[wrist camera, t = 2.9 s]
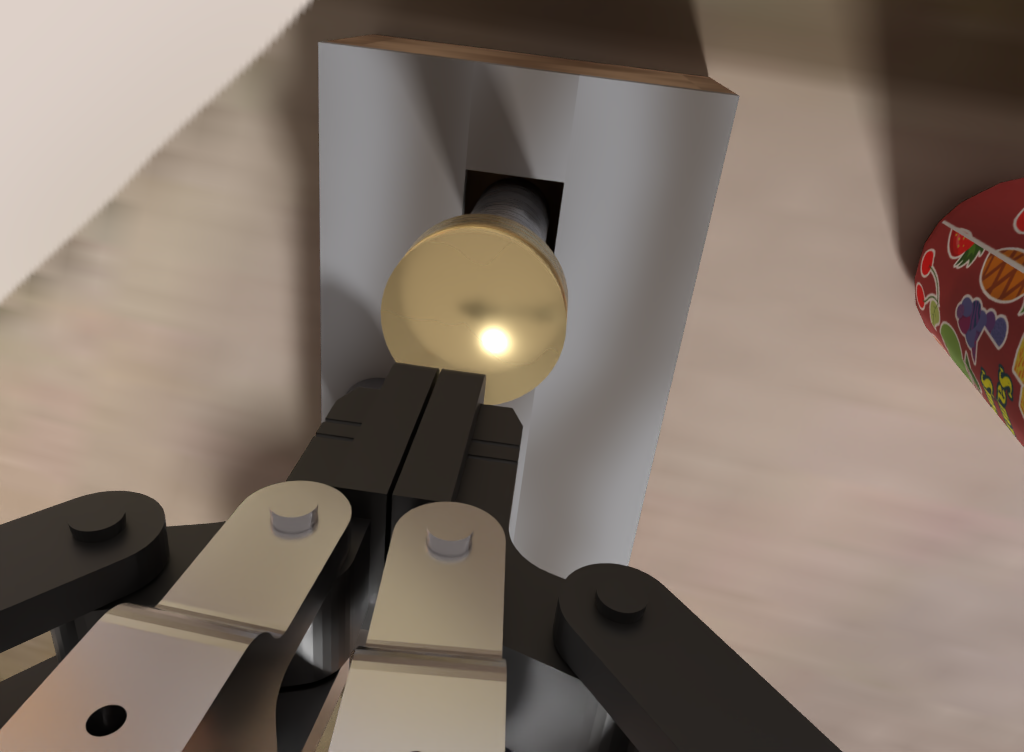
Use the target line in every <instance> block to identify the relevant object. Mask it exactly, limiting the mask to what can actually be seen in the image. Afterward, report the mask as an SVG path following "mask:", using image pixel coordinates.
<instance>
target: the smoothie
mask: <svg viewBox="0 0 1024 752" xmlns="http://www.w3.org/2000/svg"><path fill="white" fill-rule="evenodd" d="M915 297H916V306H917V308H918V311H919V313H920V315H921V317H922V319H923V322H924V324H925V326H926V328H927V329H928V330H929V331H930V332H931V334H932V335H933V336H934V337H935V338H936V340H937V341H938V342H939V343H940V345H941V346H942V347H943V348H944V350H945V351H946V352H947V353H948V354H949V356H950V357H951V358H952V359H953V361H954V362H955V363H956V364H957V366H958V367H959V368H960V369H961V370H962V372H963V373H964V374H965V375H966V377H967V378H968V379H969V380H970V381H971V383H972V384H973V385H974V386H975V388H976V389H977V390H978V391H979V393H980V394H981V395H982V396H983V397H984V399H985V400H986V401H987V402H988V404H989V405H990V406H991V407H992V408H993V410H994V411H995V412H996V413H997V415H998V416H999V417H1000V418H1001V420H1002V421H1003V422H1004V423H1005V424H1006V426H1007V427H1008V428H1009V429H1010V431H1011V432H1012V433H1013V434H1014V435H1015V437H1016V438H1017V439H1018V440H1019V442H1020V443H1021V444H1022V445H1023V447H1024V178H1020V179H1015V180H1011V181H1006V182H1002V183H999V184H997V185H995V186H993V187H991V188H989V189H987V190H985V191H983V192H981V193H979V194H977V195H975V196H973V197H971V198H969V199H967V200H965V201H963V202H962V203H960V204H959V205H958V206H956V207H955V208H954V209H953V210H952V211H951V212H950V213H948V214H947V215H946V216H945V217H944V218H943V219H942V220H940V221H939V223H938V224H937V226H936V227H935V229H934V230H933V232H932V233H931V235H930V236H929V238H928V239H927V241H926V242H925V244H924V247H923V251H922V254H921V257H920V260H919V263H918V269H917V272H916V275H915Z"/></svg>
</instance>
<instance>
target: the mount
mask: <svg viewBox="0 0 1024 752" xmlns="http://www.w3.org/2000/svg"><path fill="white" fill-rule="evenodd" d="M318 75H319V190H320V304H321V419H322V423H323V422H325V418H326V416H327V415H328V413H329V412H330V410H331V408H332V407H333V405H334V404H335V402H336V400H338V399H339V398H341V397H343V396H344V395H346V393H347V392H348V391H349V389H350V388H351V387H353V386H354V385H355V384H357V383H358V382H360V381H363V380H366V379H370V378H386V377H387V375H388V374H389V372H390V370H391V368H392V366H393V364H394V363H395V362H396V361H395V360H394V358H393V357H392V355H391V353H390V351H389V349H388V347H387V344H386V341H385V338H384V335H383V330H382V325H381V303H382V297H383V293H384V289H385V287H386V284H387V282H388V279H389V277H390V276H391V274H392V272H393V271H394V269H395V268H396V266H397V265H398V264H399V262H400V261H401V259H402V258H403V257H404V255H405V254H406V253H407V251H408V250H409V249H410V247H411V246H412V245H413V244H414V242H415V241H416V240H417V239H418V238H419V237H420V236H421V235H422V234H423V233H424V232H425V231H427V230H428V229H430V228H431V227H433V226H434V225H436V224H438V223H440V222H442V221H444V220H447V219H449V218H452V217H455V216H460V215H465V214H471V212H472V210H473V208H474V207H475V205H476V203H477V202H478V200H479V198H480V196H481V195H482V193H483V192H484V190H485V189H486V188H487V187H488V186H489V185H491V184H492V183H493V182H495V181H497V180H500V179H503V178H508V177H517V178H522V179H525V180H528V181H530V182H531V183H533V184H534V185H536V186H537V187H538V188H539V189H540V190H541V191H542V192H543V194H544V195H545V197H546V199H547V201H548V204H549V209H550V221H549V226H548V232H547V237H546V242H545V243H546V244H547V245H548V246H549V248H550V249H551V250H552V252H553V253H554V255H555V256H556V258H557V259H558V261H559V263H560V265H561V267H562V270H563V273H564V275H565V278H566V283H567V288H568V312H567V325H566V337H565V341H564V346H563V349H562V352H561V354H560V357H559V359H558V361H557V363H556V365H555V366H554V368H553V369H552V371H551V372H550V373H549V375H548V376H547V377H546V378H545V379H544V380H543V381H542V382H541V383H540V384H539V385H538V386H537V387H535V388H534V389H533V390H531V391H530V392H528V393H526V394H525V395H523V396H521V397H519V398H516V399H514V400H512V401H509V402H505V403H501V404H496V405H494V406H501V407H509V408H513V409H514V411H515V413H516V415H517V416H518V418H519V420H520V422H521V423H522V425H523V431H522V439H521V446H520V453H519V461H518V468H517V475H516V483H515V490H514V497H513V505H512V511H511V518H510V525H509V534H510V538H511V540H512V542H513V544H514V546H515V547H516V549H517V550H518V551H519V553H520V554H521V555H522V556H523V557H524V558H526V559H527V560H528V561H529V562H531V563H532V564H534V565H535V566H537V567H539V568H540V569H542V570H545V571H547V572H549V573H551V574H554V575H556V576H559V577H561V578H564V579H566V578H567V577H568V575H570V574H571V573H572V572H574V571H575V570H577V569H579V568H581V567H584V566H587V565H591V564H598V563H613V564H620V565H625V566H628V564H629V560H630V556H631V552H632V547H633V543H634V539H635V535H636V530H637V526H638V522H639V518H640V514H641V509H642V505H643V501H644V497H645V493H646V488H647V484H648V480H649V476H650V471H651V467H652V463H653V459H654V455H655V450H656V446H657V442H658V438H659V433H660V429H661V425H662V421H663V417H664V412H665V408H666V404H667V400H668V395H669V391H670V387H671V383H672V379H673V374H674V370H675V366H676V362H677V358H678V353H679V349H680V345H681V341H682V336H683V332H684V328H685V324H686V320H687V315H688V311H689V307H690V303H691V298H692V294H693V290H694V286H695V282H696V277H697V273H698V269H699V265H700V260H701V256H702V252H703V248H704V244H705V239H706V235H707V231H708V227H709V223H710V218H711V214H712V210H713V206H714V201H715V197H716V193H717V189H718V185H719V180H720V176H721V172H722V168H723V163H724V159H725V155H726V151H727V147H728V142H729V138H730V134H731V130H732V126H733V121H734V117H735V113H736V109H737V104H738V100H739V95H737V94H735V93H734V92H732V91H731V90H729V89H727V88H726V87H724V86H723V85H721V84H719V83H718V82H716V81H715V80H713V79H711V78H710V77H705V76H697V75H689V74H681V73H673V72H666V71H658V70H650V69H642V68H634V67H626V66H619V65H611V64H603V63H595V62H587V61H579V60H571V59H564V58H556V57H548V56H540V55H532V54H524V53H516V52H509V51H501V50H493V49H485V48H477V47H469V46H461V45H454V44H446V43H438V42H430V41H422V40H414V39H406V38H399V37H391V36H383V35H375V34H372V35H365V36H358V37H351V38H344V39H337V40H330V41H323V42H318ZM368 633H369V630H364V629H360V632H359V634H358V637H357V640H356V643H355V646H354V648H353V651H355V650H356V648H357V647H358V646H365V645H366V641H367V637H368Z"/></svg>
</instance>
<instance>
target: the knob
mask: <svg viewBox="0 0 1024 752" xmlns="http://www.w3.org/2000/svg"><path fill="white" fill-rule="evenodd" d="M549 221H550V209H549V204H548V201H547V199H546V197H545V195H544V194H543V192H542V191H541V190H540V189H539V188H538V187H537V186H536V185H534V184H533V183H531V182H530V181H528V180H525V179H522V178H517V177H508V178H503V179H500V180H497V181H495V182H493V183H492V184H491V185H489V186H488V187H487V188H486V189H485V190H484V192H483V193H482V195H481V196H480V198H479V200H478V202H477V203H476V205H475V207H474V208H473V210H472V212H471V214H465V215H460V216H455V217H452V218H449V219H447V220H444V221H442V222H440V223H438V224H436V225H434V226H433V227H431V228H430V229H428V230H427V231H425V232H424V233H423V234H422V235H421V236H420V237H419V238H418V239H417V240H416V241H415V242H414V244H413V245H412V246H411V247H410V249H409V250H408V251H407V253H406V254H405V255H404V257H403V258H402V259H401V261H400V262H399V264H398V265H397V266H396V268H395V269H394V271H393V272H392V274H391V276H390V277H389V279H388V282H387V284H386V287H385V289H384V293H383V297H382V303H381V325H382V330H383V335H384V338H385V341H386V344H387V347H388V349H389V351H390V353H391V355H392V357H393V358H394V360H395V361H396V362H397V363H405V364H412V365H419V366H426V367H433V368H439V369H440V372H441V370H442V369H449V370H456V371H463V372H471V373H478V374H485V375H486V385H485V395H484V404H487V405H496V404H501V403H505V402H509V401H512V400H514V399H516V398H519V397H521V396H523V395H525V394H526V393H528V392H530V391H531V390H533V389H534V388H535V387H537V386H538V385H539V384H540V383H541V382H542V381H543V380H544V379H545V378H546V377H547V376H548V375H549V373H550V372H551V371H552V369H553V368H554V366H555V365H556V363H557V361H558V359H559V357H560V354H561V352H562V349H563V346H564V341H565V337H566V325H567V312H568V288H567V283H566V278H565V275H564V273H563V270H562V267H561V265H560V263H559V261H558V259H557V258H556V256H555V255H554V253H553V252H552V250H551V249H550V248H549V246H548V245H547V244H546V243H545V242H546V237H547V232H548V226H549Z"/></svg>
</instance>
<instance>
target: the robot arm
mask: <svg viewBox="0 0 1024 752" xmlns="http://www.w3.org/2000/svg"><path fill="white" fill-rule="evenodd" d="M485 385H486V375H485V374H478V373H471V372H463V371H456V370H449V369H442V370H441V372H440V369H439V368H433V367H426V366H419V365H412V364H405V363H397V362H395V363H394V364H393V366H392V368H391V370H390V372H389V374H388V375H387V377H386V379H385V381H384V383H383V385H382V387H381V389H380V390H379V389H371V388H364V387H358V388H356V389H354V390H353V391H351V392H349V393H348V394H346V395H344V396H343V397H341V398H339V399H338V400H336V402H335V404H334V405H333V407H332V408H331V410H330V412H329V413H328V415H327V416H326V418H325V422H323V423H322V424H321V426H320V428H319V429H318V431H317V432H316V437H315V436H314V437H313V439H312V440H311V442H310V444H309V445H308V447H307V448H306V450H305V452H304V453H303V455H302V456H301V458H300V460H299V461H298V463H297V464H296V466H295V468H294V469H293V471H292V472H291V474H290V476H289V477H288V479H287V480H286V482H281V483H277V484H273V485H270V486H267V487H264V488H262V489H260V490H258V491H256V492H254V493H253V494H251V495H250V496H249V497H247V498H246V499H245V500H244V501H243V502H242V503H241V504H240V505H239V507H238V508H237V509H236V510H235V512H234V513H233V514H232V515H231V516H230V518H229V519H228V520H227V521H224V522H218V523H210V524H196V525H183V526H169V527H166V521H165V514H164V511H163V508H162V507H161V506H160V504H159V503H158V502H156V501H155V500H154V499H152V498H150V497H148V496H146V495H143V494H140V493H135V492H129V491H107V492H99V493H94V494H89V495H85V496H82V497H78V498H75V499H72V500H70V501H67V502H64V503H61V504H58V505H55V506H53V507H50V508H47V509H44V510H41V511H38V512H36V513H33V514H30V515H27V516H24V517H21V518H19V519H16V520H13V521H10V522H7V523H4V524H2V525H0V653H1V652H4V651H6V650H8V649H10V648H12V647H15V646H17V645H19V644H21V643H23V642H26V641H28V640H30V639H32V638H34V637H37V636H39V635H41V634H43V633H45V632H48V631H51V635H52V639H53V643H54V647H55V651H56V656H54V657H52V658H49V659H47V660H45V661H43V662H41V663H39V664H37V665H35V666H33V667H31V668H29V669H26V670H24V671H22V672H20V673H18V674H16V675H14V676H12V677H10V678H8V679H6V680H3V681H1V682H0V752H315V751H316V748H317V746H318V744H319V742H320V739H321V737H322V735H323V733H324V730H325V728H326V726H327V724H328V722H329V719H330V717H331V715H332V713H333V710H334V708H335V706H336V704H337V701H338V699H339V697H340V695H341V693H342V690H343V688H344V686H345V689H344V693H343V697H342V700H341V704H340V708H339V712H338V716H337V720H336V724H335V728H334V731H333V735H332V739H331V743H330V747H329V751H328V752H505V747H506V748H508V749H510V750H512V751H514V752H842V751H841V750H840V749H839V748H838V747H837V746H836V745H835V744H833V743H832V742H831V741H830V740H829V739H828V738H827V737H826V736H825V735H824V734H823V733H822V732H821V731H819V730H818V729H817V728H816V727H815V726H814V725H813V724H812V723H811V722H810V721H809V720H808V719H807V718H806V717H804V716H803V715H802V714H801V713H800V712H799V711H798V710H797V709H796V708H795V707H794V706H793V705H792V704H790V703H789V702H788V701H787V700H786V699H785V698H784V697H783V696H782V695H781V694H780V693H779V692H778V691H777V690H775V689H774V688H773V687H772V686H771V685H770V684H769V683H768V682H767V681H766V680H765V679H764V678H763V677H761V676H760V675H759V674H758V673H757V672H756V671H755V670H754V669H753V668H752V667H751V666H750V665H749V664H748V663H746V662H745V661H744V660H743V659H742V658H741V657H740V656H739V655H738V654H737V653H736V652H735V651H734V650H732V649H731V648H730V647H729V646H728V645H727V644H726V643H725V642H724V641H723V640H722V639H721V638H720V637H719V636H717V635H716V634H715V633H714V632H713V631H712V630H711V629H710V628H709V627H708V626H707V625H706V624H705V623H703V622H702V621H701V620H700V619H699V618H698V617H697V616H696V615H695V614H694V613H693V612H692V611H691V610H690V609H688V608H687V607H686V606H685V605H684V604H683V603H682V602H681V601H680V600H679V599H678V598H677V597H676V596H675V595H673V594H672V593H671V592H670V591H669V590H668V589H667V588H666V587H665V586H664V585H662V584H661V583H660V582H659V581H658V580H656V579H655V578H653V577H652V576H650V575H648V574H646V573H644V572H642V571H640V570H638V569H635V568H632V567H629V566H625V565H620V564H613V563H598V564H591V565H587V566H584V567H581V568H579V569H577V570H575V571H574V572H572V573H571V574H570V575H568V577H567V578H566V579H564V578H561V577H559V576H556V575H554V574H551V573H549V572H547V571H545V570H542V569H540V568H539V567H537V566H535V565H534V564H532V563H531V562H529V561H528V560H527V559H526V558H524V557H523V556H522V555H521V554H520V553H519V551H518V550H517V549H516V547H515V546H514V544H513V542H512V540H511V538H510V534H509V525H510V518H511V511H512V505H513V497H514V490H515V483H516V475H517V468H518V461H519V453H520V446H521V439H522V431H523V425H522V423H521V422H520V420H519V418H518V416H517V415H516V413H515V411H514V409H513V408H509V407H501V406H494V405H487V404H484V395H485ZM360 629H364V630H369V633H368V637H367V641H366V645H365V646H358V647H357V648H356V650H355V653H354V656H353V659H352V662H351V666H350V655H351V653H352V651H353V648H354V646H355V643H356V640H357V637H358V634H359V632H360ZM345 684H346V685H345Z"/></svg>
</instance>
